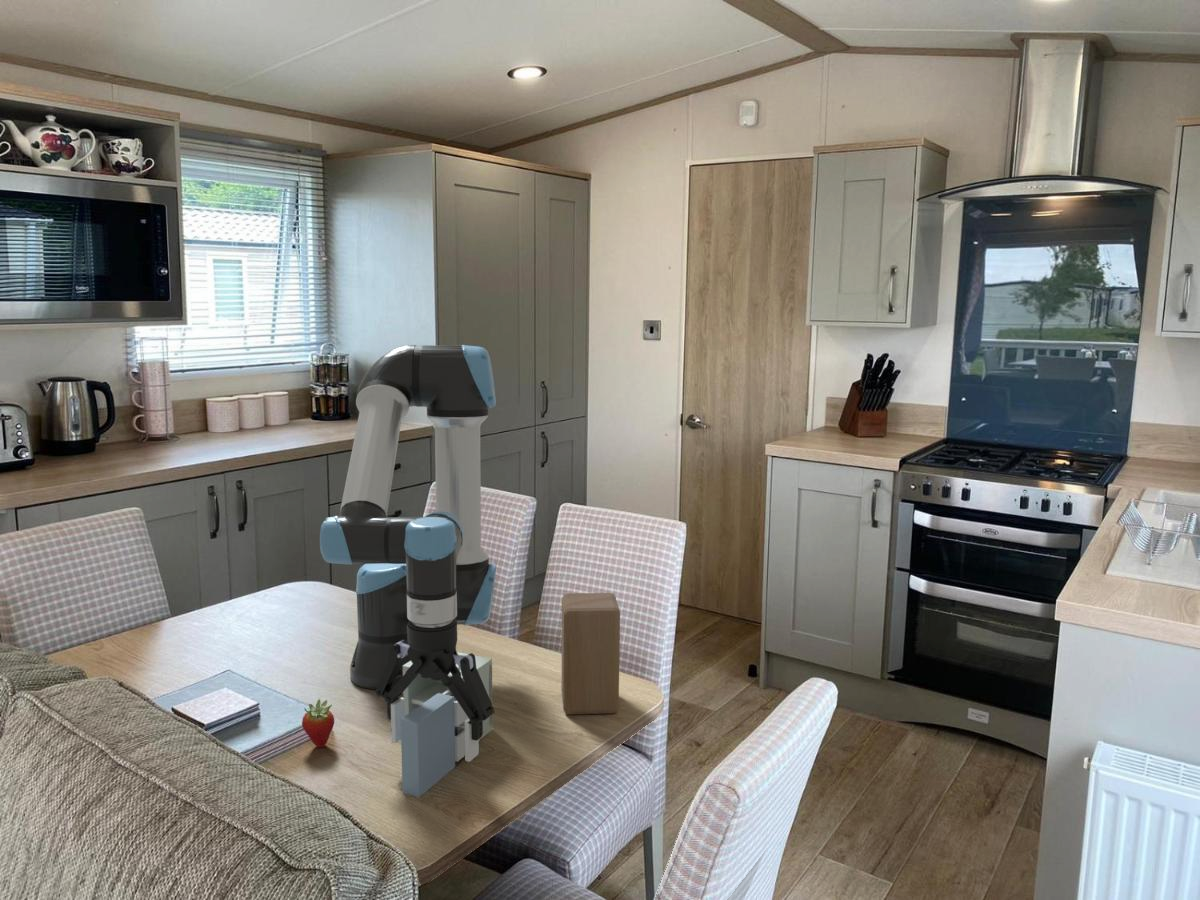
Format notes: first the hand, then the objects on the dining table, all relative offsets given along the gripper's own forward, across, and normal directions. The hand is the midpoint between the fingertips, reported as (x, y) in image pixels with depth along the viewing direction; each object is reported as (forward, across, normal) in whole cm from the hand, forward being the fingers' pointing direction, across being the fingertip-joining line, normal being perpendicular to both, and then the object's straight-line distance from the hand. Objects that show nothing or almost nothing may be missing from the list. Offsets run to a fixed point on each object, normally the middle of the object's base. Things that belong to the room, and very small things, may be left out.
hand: (434, 748), depth 147 cm
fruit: (+5, -22, -1) cm, 23 cm away
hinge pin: (+4, 0, +5) cm, 7 cm away
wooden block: (+5, +12, +33) cm, 36 cm away
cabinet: (+4, -5, +12) cm, 14 cm away
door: (+4, 0, 0) cm, 4 cm away
